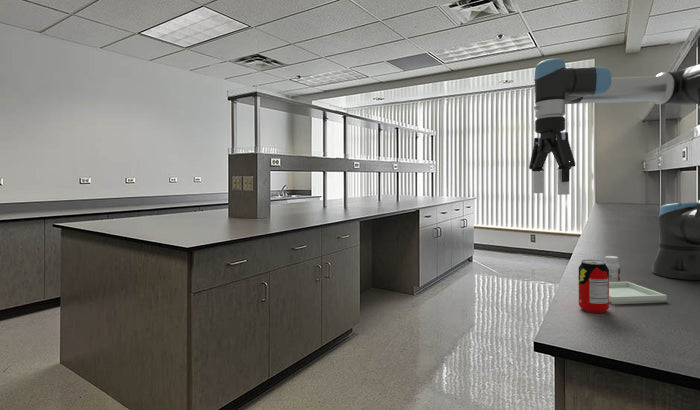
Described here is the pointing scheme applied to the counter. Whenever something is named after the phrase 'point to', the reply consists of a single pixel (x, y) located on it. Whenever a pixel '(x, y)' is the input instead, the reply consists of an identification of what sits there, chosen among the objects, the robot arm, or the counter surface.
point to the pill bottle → (613, 268)
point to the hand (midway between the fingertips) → (550, 194)
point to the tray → (633, 294)
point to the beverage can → (594, 286)
